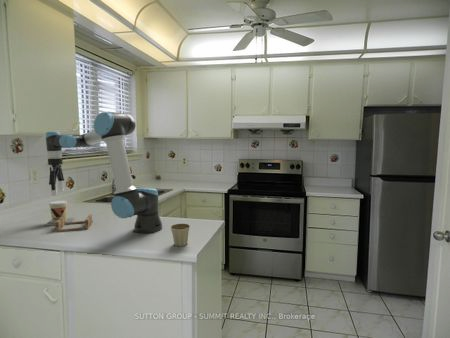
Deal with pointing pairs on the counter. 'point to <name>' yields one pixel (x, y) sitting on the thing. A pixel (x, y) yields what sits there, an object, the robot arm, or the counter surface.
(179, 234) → the flower pot
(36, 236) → the counter surface
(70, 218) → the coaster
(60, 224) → the cradle
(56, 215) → the coffee cup
